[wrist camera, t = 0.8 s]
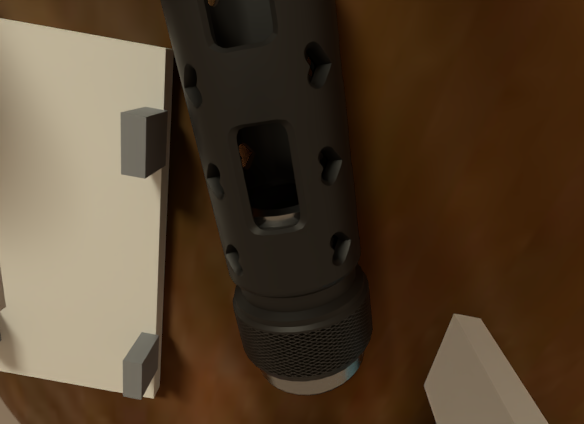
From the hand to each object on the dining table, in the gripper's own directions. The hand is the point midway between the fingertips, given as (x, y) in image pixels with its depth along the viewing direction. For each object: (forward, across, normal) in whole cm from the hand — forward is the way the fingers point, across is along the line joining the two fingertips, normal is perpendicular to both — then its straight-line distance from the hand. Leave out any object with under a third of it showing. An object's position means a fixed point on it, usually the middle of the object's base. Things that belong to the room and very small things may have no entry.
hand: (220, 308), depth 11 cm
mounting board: (+19, -16, -10) cm, 27 cm away
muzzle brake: (+19, 0, 0) cm, 19 cm away
